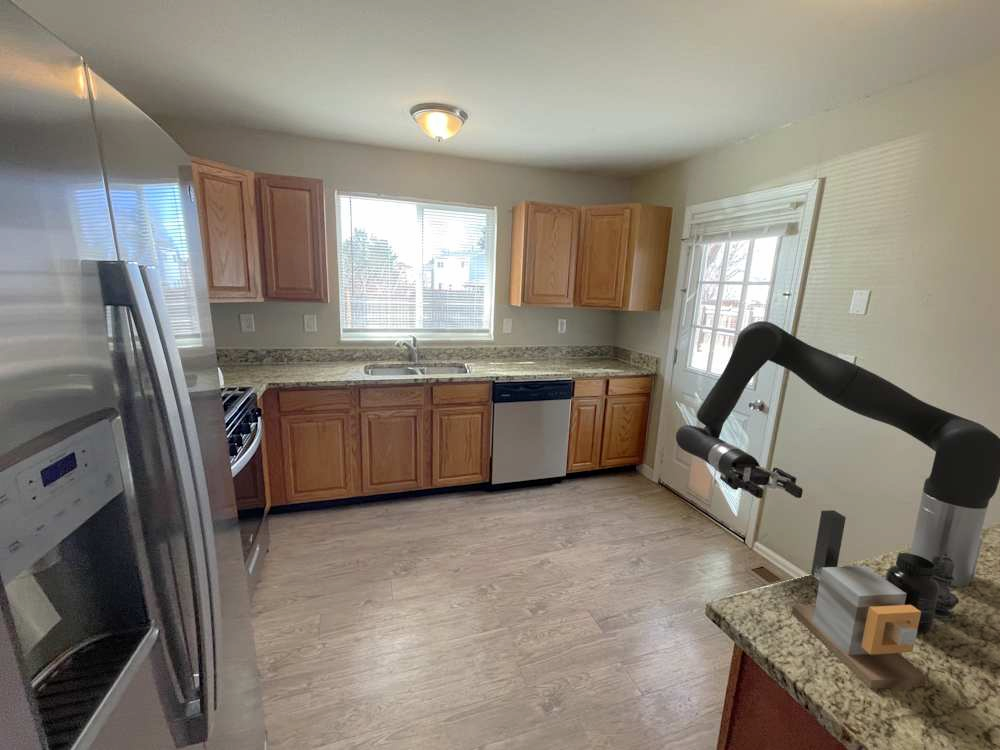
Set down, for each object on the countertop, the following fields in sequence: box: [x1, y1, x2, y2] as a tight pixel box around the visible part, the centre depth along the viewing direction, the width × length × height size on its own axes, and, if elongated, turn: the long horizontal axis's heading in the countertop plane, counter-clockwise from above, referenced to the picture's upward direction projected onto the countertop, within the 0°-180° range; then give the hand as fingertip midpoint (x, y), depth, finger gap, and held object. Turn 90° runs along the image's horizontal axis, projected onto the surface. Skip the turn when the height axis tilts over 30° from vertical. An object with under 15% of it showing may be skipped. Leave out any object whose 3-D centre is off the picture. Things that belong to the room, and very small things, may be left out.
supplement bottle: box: [885, 552, 940, 634], centre depth 76 cm, size 7×7×12 cm
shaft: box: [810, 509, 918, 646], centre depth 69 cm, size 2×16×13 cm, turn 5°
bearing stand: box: [791, 565, 928, 690], centre depth 70 cm, size 9×16×12 cm, turn 5°
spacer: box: [861, 605, 921, 655], centre depth 65 cm, size 7×2×7 cm, turn 95°
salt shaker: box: [932, 552, 960, 621], centre depth 79 cm, size 6×6×12 cm
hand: (781, 494), depth 87 cm, fingers open, 8 cm apart
